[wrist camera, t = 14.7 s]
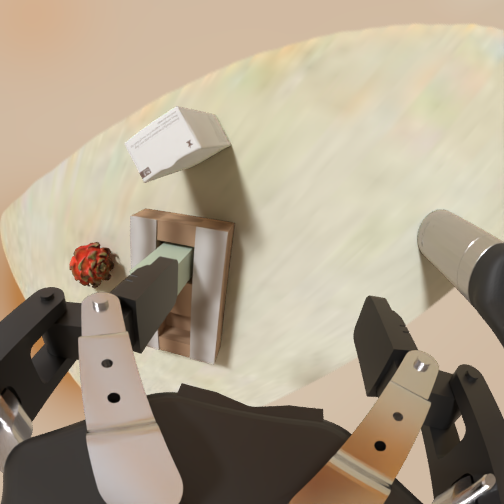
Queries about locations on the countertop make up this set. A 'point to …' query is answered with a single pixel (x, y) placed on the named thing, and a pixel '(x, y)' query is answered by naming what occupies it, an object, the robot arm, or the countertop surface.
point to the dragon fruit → (91, 264)
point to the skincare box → (176, 142)
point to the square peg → (173, 251)
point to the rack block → (199, 285)
